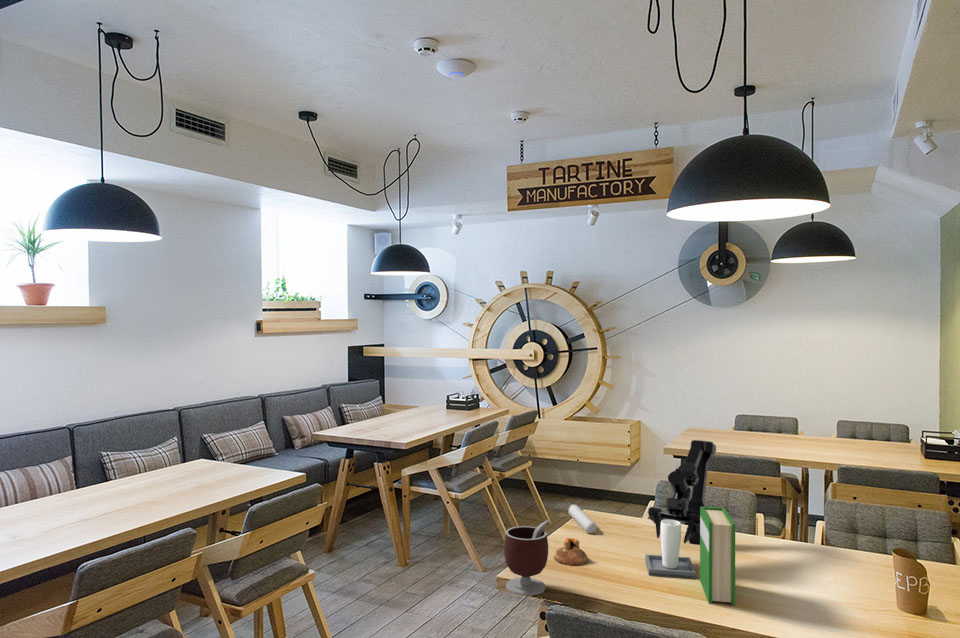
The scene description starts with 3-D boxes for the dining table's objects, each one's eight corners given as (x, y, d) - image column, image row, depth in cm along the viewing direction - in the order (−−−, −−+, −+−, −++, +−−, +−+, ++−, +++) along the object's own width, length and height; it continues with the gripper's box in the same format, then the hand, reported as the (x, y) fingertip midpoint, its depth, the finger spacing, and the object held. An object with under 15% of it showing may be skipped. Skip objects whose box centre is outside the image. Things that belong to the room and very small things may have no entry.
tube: (600, 524, 250) (581, 506, 275) (588, 520, 250) (570, 502, 274) (596, 537, 250) (577, 518, 275) (584, 533, 249) (566, 514, 274)
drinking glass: (675, 562, 218) (675, 518, 218) (684, 569, 212) (684, 525, 212) (656, 562, 218) (657, 519, 218) (664, 570, 211) (665, 525, 211)
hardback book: (735, 606, 186) (735, 524, 187) (708, 603, 188) (709, 522, 188) (723, 582, 204) (724, 507, 204) (699, 580, 205) (700, 506, 205)
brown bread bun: (585, 554, 228) (585, 534, 228) (588, 567, 216) (588, 545, 216) (553, 553, 229) (553, 533, 229) (554, 565, 217) (554, 544, 217)
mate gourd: (518, 600, 189) (518, 533, 189) (495, 583, 201) (496, 520, 202) (560, 590, 196) (561, 525, 196) (536, 574, 208) (537, 514, 209)
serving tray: (689, 563, 220) (689, 557, 220) (696, 578, 206) (696, 572, 206) (645, 560, 223) (645, 554, 223) (648, 575, 209) (648, 569, 209)
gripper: (649, 484, 225) (638, 522, 216) (703, 492, 215) (694, 533, 206) (656, 501, 232) (646, 539, 223) (709, 509, 221) (700, 550, 212)
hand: (670, 540), depth 216 cm, fingers open, 9 cm apart
